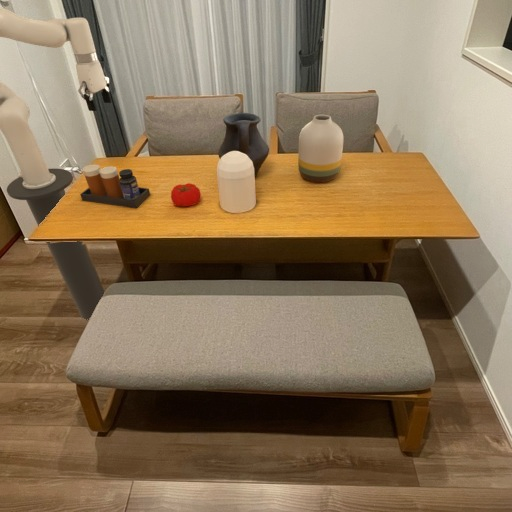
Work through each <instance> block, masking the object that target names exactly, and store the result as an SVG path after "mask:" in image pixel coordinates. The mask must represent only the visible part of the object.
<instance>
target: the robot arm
mask: <svg viewBox="0 0 512 512" xmlns="http://www.w3.org/2000/svg"><path fill="white" fill-rule="evenodd" d="M0 38H6V39H10V40H12V41H17V42H21V43H24V44H29V45H33V46H34V45H35V46H38V47H39V46H41V47H45V48H54V49H56V48H61V47H63V46H64V45H65V43H66V42H69V43H70V46H71V48H72V52H73V55H74V58H75V61H76V64H75V69H76V75H77V80H78V84H79V88H78V90H77V92H78V93H79V96H81V98H82V99H83V100H84V101H85V103H86V106H87V109H88V111H90V112H96V111H97V107H96V103H95V100H94V99H93V97H94V94H96V93H98V92H100V91H101V97H102V100H103V103H105V104H111V103H112V98H111V95H110V78H109V77H108V76H105V72H104V70H103V68H102V65H101V62H100V60H99V57H98V54H97V50H96V46H95V42H94V39H93V35H92V32H91V28H90V24H89V21H88V20H87V18H85V17H70V18H49V19H47V20H41V19H40V20H39V19H35V18H30V17H29V18H28V17H26V16H22V15H20V14H17V13H15V12H13V11H12V10H10V9H8V8H4V7H0ZM30 115H31V110H30V107H29V105H28V104H27V102H26V101H25V100H24V99H23V98H22V97H21V96H19V95H18V94H17V93H16V92H15V91H13V89H11V88H10V86H7V84H5V83H4V82H3V81H1V80H0V132H1V133H2V135H3V136H4V138H5V140H6V142H7V144H8V147H9V149H10V151H11V152H12V154H13V156H14V159H15V161H16V163H17V166H18V168H19V173H18V174H17V176H18V178H19V177H23V179H24V181H23V186H24V188H27V189H39V188H43V187H46V186H49V185H51V184H52V183H54V182H55V180H56V177H55V175H54V174H51V173H49V170H48V169H49V167H48V166H47V163H46V159H45V158H44V155H43V153H42V150H41V148H40V145H39V143H38V141H37V139H36V136H35V134H34V132H33V131H32V129H31V127H30V125H29V122H28V121H29V118H30Z"/></svg>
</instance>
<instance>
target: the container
mask: <svg viewBox="0 0 512 512" xmlns="http://www.w3.org/2000/svg"><path fill="white" fill-rule="evenodd" d="M255 176H256V175H254V166H253V162H252V161H251V159H250V158H249V157H248V156H247V155H246V154H244V153H241V152H239V151H231V152H228V153H226V154H225V155H223V156H222V157H221V158H219V160H218V162H217V165H216V179H217V188H218V196H219V197H218V198H219V205H220V207H221V209H222V210H223V211H225V212H227V213H232V214H241V213H245V212H249V211H251V210H253V209H254V208H255V207H256V205H257V197H256V179H255V178H256V177H255Z"/></svg>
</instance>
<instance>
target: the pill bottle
mask: <svg viewBox="0 0 512 512" xmlns="http://www.w3.org/2000/svg"><path fill="white" fill-rule="evenodd" d="M118 176H119V179H120V180H119V182H120V185H121V189H122V192H123V196H124V199H125V200H132V201H135V200H136V199H137V198H138V197H139V196H140V192H139V188H138V187H139V184H138V181H137V180H138V179H137V177H136V176H135V175H134V173H133V170H132V169H130V168H124V169H122V170H120V171H118Z"/></svg>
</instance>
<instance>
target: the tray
mask: <svg viewBox="0 0 512 512" xmlns="http://www.w3.org/2000/svg"><path fill="white" fill-rule="evenodd" d="M138 188H139V192H140V196H139V197H138V198H137V199H136V200H135V201H132V200H125V199H124V196H123V197H122V198H120V199H118V198H110V197H108V196H107V194H106V195H105V196H96V195H91V192H90V189H89V187H87V188H86V189H84V191H82V192H80V194H79V195H80V197H81V200H82V201H83V202H84V201H85V202H91V203H97V204H104V205H112V206H117V207H118V206H119V207H126V208H133V209H138V207H140V206H141V204H143V203H144V202H145V201H146V200H147V199H148V198H149V197H150V196H151V191H150V188H147V187H139V186H138Z"/></svg>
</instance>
